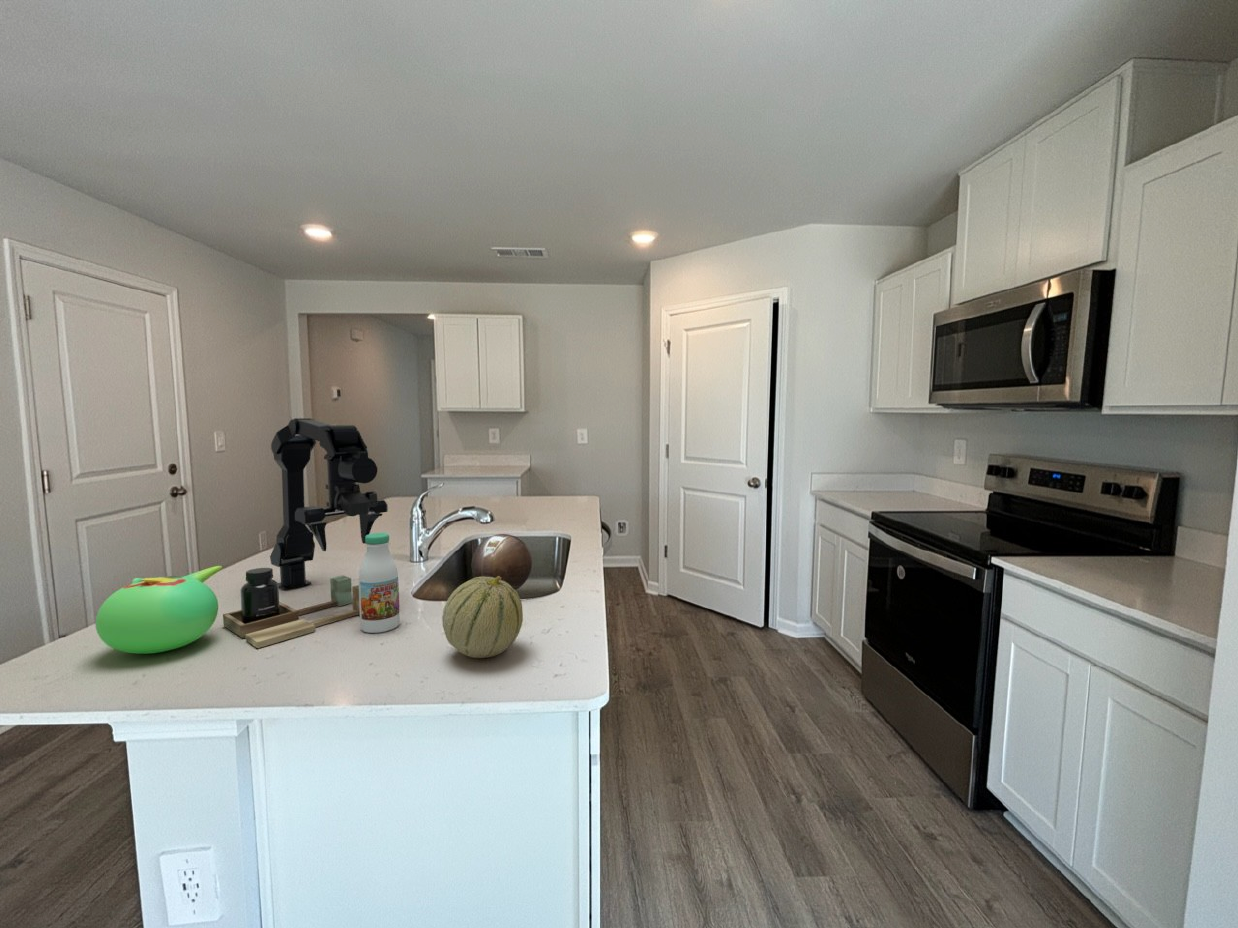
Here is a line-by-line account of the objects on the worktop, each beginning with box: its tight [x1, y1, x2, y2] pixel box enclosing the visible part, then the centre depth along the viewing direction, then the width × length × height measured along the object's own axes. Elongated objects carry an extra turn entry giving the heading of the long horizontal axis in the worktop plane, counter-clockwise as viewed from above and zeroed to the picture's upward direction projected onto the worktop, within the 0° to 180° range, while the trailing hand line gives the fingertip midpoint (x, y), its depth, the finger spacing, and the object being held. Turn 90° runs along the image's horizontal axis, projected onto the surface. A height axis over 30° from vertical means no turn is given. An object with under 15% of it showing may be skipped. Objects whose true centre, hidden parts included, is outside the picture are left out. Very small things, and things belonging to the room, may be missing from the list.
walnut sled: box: [222, 574, 353, 639], centre depth 121 cm, size 11×24×6 cm, turn 143°
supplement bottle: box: [240, 567, 280, 624], centre depth 116 cm, size 7×7×12 cm
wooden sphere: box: [471, 533, 533, 591], centre depth 138 cm, size 15×15×15 cm
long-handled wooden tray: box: [245, 584, 360, 649], centre depth 115 cm, size 6×24×6 cm, turn 143°
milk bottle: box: [358, 532, 401, 634], centre depth 115 cm, size 8×8×20 cm
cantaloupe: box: [441, 576, 524, 659], centre depth 102 cm, size 15×15×15 cm
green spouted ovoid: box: [95, 565, 223, 655], centre depth 104 cm, size 18×17×15 cm
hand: (344, 546), depth 125 cm, fingers open, 9 cm apart
